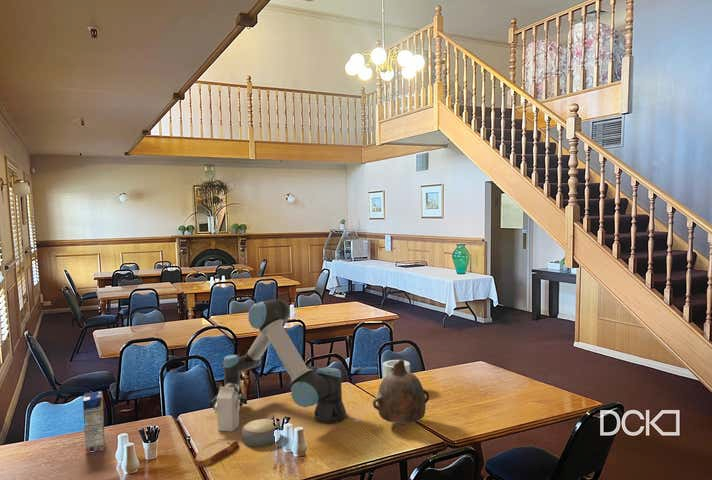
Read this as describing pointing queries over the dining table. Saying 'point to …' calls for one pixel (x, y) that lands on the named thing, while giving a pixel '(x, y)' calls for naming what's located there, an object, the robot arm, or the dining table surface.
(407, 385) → the jug
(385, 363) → the container
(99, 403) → the beverage box
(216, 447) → the slice of bread
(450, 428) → the dining table surface
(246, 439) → the podium
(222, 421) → the milk carton
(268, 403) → the dining table surface
